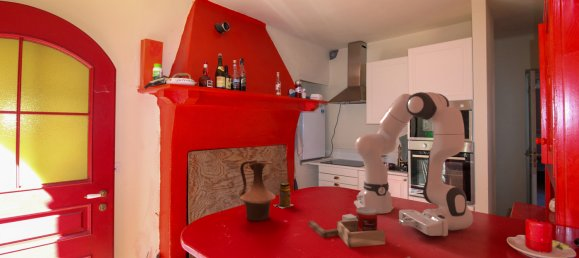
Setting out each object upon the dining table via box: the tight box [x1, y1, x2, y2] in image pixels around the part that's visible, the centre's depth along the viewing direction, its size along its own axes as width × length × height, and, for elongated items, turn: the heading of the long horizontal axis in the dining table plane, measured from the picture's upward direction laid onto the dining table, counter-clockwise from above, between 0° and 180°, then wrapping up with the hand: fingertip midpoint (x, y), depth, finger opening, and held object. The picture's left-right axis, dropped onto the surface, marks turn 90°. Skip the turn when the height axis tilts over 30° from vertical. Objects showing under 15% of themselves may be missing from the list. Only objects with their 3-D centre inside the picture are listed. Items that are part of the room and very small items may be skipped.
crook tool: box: [308, 220, 339, 239], centre depth 117 cm, size 14×7×2 cm, turn 19°
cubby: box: [336, 220, 386, 248], centre depth 108 cm, size 13×14×5 cm
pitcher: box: [238, 159, 276, 222], centre depth 133 cm, size 18×17×28 cm
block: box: [341, 213, 356, 221], centre depth 121 cm, size 4×4×4 cm
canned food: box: [355, 207, 378, 232], centre depth 108 cm, size 8×8×11 cm
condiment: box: [273, 182, 294, 209], centre depth 152 cm, size 7×8×12 cm
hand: (400, 222), depth 110 cm, fingers closed
